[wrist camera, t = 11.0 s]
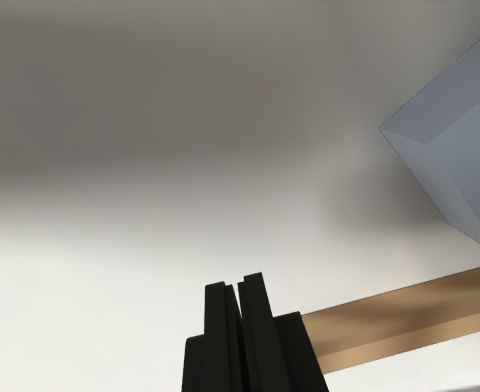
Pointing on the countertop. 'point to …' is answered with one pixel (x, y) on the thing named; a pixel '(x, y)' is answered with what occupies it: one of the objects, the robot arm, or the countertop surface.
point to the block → (445, 141)
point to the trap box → (395, 321)
